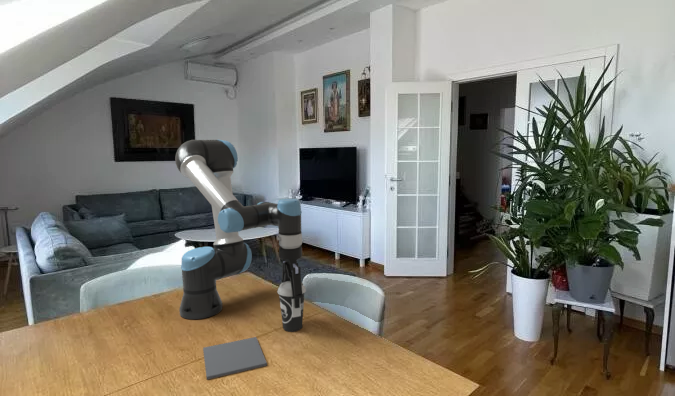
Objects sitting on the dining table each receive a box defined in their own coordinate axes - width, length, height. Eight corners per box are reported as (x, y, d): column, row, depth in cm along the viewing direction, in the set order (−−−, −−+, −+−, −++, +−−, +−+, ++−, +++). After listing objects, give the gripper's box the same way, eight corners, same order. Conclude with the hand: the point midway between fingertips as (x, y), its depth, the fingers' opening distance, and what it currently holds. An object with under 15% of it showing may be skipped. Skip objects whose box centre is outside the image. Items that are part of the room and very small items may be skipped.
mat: (203, 350, 114) (203, 347, 114) (256, 339, 120) (256, 336, 120) (206, 379, 99) (206, 376, 99) (266, 365, 105) (266, 362, 105)
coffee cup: (302, 335, 122) (301, 291, 120) (274, 332, 124) (272, 289, 122) (310, 321, 131) (309, 280, 129) (284, 319, 133) (282, 279, 131)
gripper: (271, 239, 132) (273, 299, 135) (288, 255, 112) (290, 326, 115) (292, 237, 135) (293, 296, 138) (312, 252, 115) (313, 321, 118)
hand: (292, 310), depth 127 cm, fingers closed on coffee cup, 9 cm apart
